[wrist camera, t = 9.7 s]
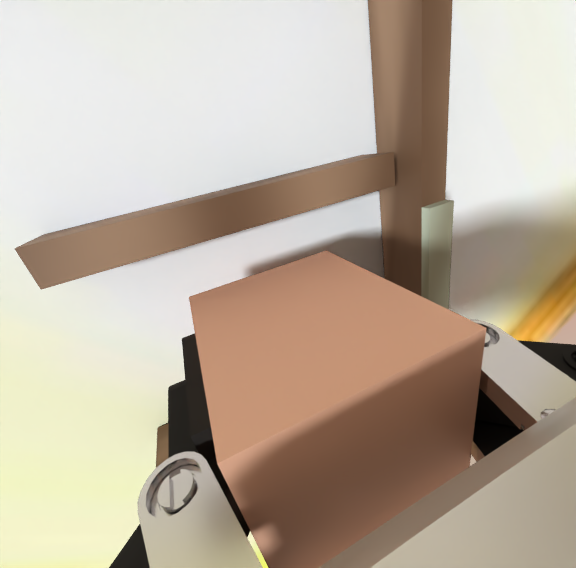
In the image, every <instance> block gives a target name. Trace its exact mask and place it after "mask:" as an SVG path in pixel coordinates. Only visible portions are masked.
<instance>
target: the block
mask: <svg viewBox="0 0 576 568" xmlns="http://www.w3.org/2000/svg"><path fill="white" fill-rule="evenodd" d="M189 300H190V306H191V312H192V318H193V324H194V330H195V336H196V342H197V348H198V353H199V359H200V365H201V371H202V377H203V383H204V389H205V395H206V401H207V406H208V412H209V418H210V424H211V430H212V436H213V442H214V448H215V454H216V460H217V464H218V466H219V468H220V470H221V472H222V474H223V476H224V478H225V480H226V482H227V484H228V486H229V488H230V490H231V492H232V495H233V497H234V499H235V501H236V503H237V505H238V507H239V509H240V511H241V513H242V515H243V517H244V519H245V521H246V523H247V525H248V527H249V529H250V531H251V533H252V535H253V537H254V539H255V541H256V543H257V545H258V547H259V549H260V551H261V553H262V555H263V557H264V559H265V561H266V563H267V565H268V567H269V568H319V567H320V566H322V565H323V564H325V563H326V562H328V561H329V560H331V559H332V558H334V557H335V556H337V555H338V554H340V553H341V552H342V551H344V550H345V549H347V548H348V547H350V546H351V545H353V544H354V543H356V542H357V541H359V540H360V539H362V538H363V537H365V536H366V535H368V534H369V533H371V532H372V531H374V530H375V529H377V528H378V527H380V526H381V525H383V524H384V523H386V522H387V521H389V520H390V519H392V518H393V517H395V516H396V515H398V514H399V513H401V512H402V511H404V510H405V509H407V508H408V507H410V506H411V505H413V504H414V503H416V502H417V501H419V500H420V499H422V498H423V497H425V496H426V495H428V494H429V493H431V492H432V491H434V490H435V489H437V488H438V487H440V486H441V485H443V484H444V483H446V482H447V481H449V480H450V479H452V478H453V477H455V476H456V475H458V474H459V473H461V472H462V471H464V470H465V469H467V468H468V467H469V466H470V458H471V450H472V442H473V434H474V426H475V417H476V409H477V401H478V393H479V385H480V377H481V368H482V360H483V352H484V344H485V336H486V327H483V326H481V325H479V324H477V323H475V322H473V321H471V320H469V319H467V318H465V317H463V316H461V315H459V314H457V313H454V312H452V311H450V310H448V309H446V308H444V307H442V306H440V305H438V304H436V303H434V302H432V301H430V300H428V299H426V298H423V297H421V296H419V295H417V294H415V293H413V292H411V291H409V290H407V289H405V288H403V287H401V286H399V285H397V284H395V283H392V282H390V281H388V280H386V279H384V278H382V277H380V276H378V275H376V274H374V273H372V272H370V271H368V270H366V269H364V268H361V267H359V266H357V265H355V264H353V263H351V262H349V261H347V260H345V259H343V258H341V257H339V256H337V255H335V254H333V253H330V252H328V251H323V252H320V253H317V254H314V255H311V256H308V257H305V258H302V259H299V260H296V261H293V262H290V263H288V264H285V265H282V266H279V267H276V268H273V269H270V270H267V271H264V272H261V273H258V274H255V275H252V276H249V277H246V278H243V279H240V280H237V281H234V282H232V283H229V284H226V285H223V286H220V287H217V288H214V289H211V290H208V291H205V292H202V293H199V294H196V295H193V296H190V297H189Z"/></svg>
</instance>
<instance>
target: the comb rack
mask: <svg viewBox="0 0 576 568" xmlns="http://www.w3.org/2000/svg"><path fill="white" fill-rule="evenodd" d="M368 10H369V27H370V43H371V60H372V76H373V93H374V110H375V126H376V143H377V154H368V155H360V156H356V157H352V158H348V159H344V160H340V161H336V162H332V163H328V164H324V165H320V166H316V167H312V168H308V169H304V170H300V171H296V172H292V173H288V174H284V175H280V176H276V177H272V178H268V179H264V180H260V181H256V182H252V183H248V184H244V185H240V186H236V187H232V188H228V189H224V190H220V191H216V192H212V193H208V194H204V195H200V196H196V197H192V198H188V199H184V200H180V201H176V202H172V203H168V204H164V205H160V206H156V207H152V208H148V209H144V210H140V211H136V212H132V213H128V214H124V215H120V216H116V217H112V218H108V219H104V220H100V221H96V222H92V223H88V224H84V225H80V226H76V227H72V228H68V229H64V230H60V231H56V232H52V233H48V234H44V235H42V236H40V237H38V238H36V239H34V240H31V241H29V242H27V243H25V244H23V245H21V246H19V247H17V248H15V250H16V252H17V253H18V255H19V256H20V258H21V259H22V261H23V262H24V264H25V266H26V267H27V269H28V270H29V272H30V273H31V275H32V276H33V278H34V279H35V281H36V283H37V284H38V286H39V287H40V289H44V288H48V287H51V286H55V285H58V284H62V283H65V282H68V281H72V280H75V279H79V278H82V277H85V276H89V275H92V274H96V273H99V272H102V271H106V270H109V269H113V268H116V267H119V266H123V265H126V264H130V263H133V262H136V261H140V260H143V259H147V258H150V257H154V256H157V255H160V254H164V253H167V252H171V251H174V250H177V249H181V248H184V247H188V246H191V245H194V244H198V243H201V242H205V241H208V240H211V239H215V238H218V237H222V236H225V235H228V234H232V233H235V232H239V231H242V230H246V229H249V228H252V227H256V226H259V225H263V224H266V223H269V222H273V221H276V220H280V219H283V218H286V217H290V216H293V215H297V214H300V213H303V212H307V211H310V210H314V209H317V208H320V207H324V206H327V205H331V204H334V203H338V202H341V201H344V200H348V199H351V198H355V197H358V196H361V195H365V194H368V193H372V192H375V191H378V190H379V192H380V209H381V225H382V242H383V259H384V275H385V279H386V280H388V281H390V282H392V283H395V284H397V285H399V286H401V287H403V288H405V289H407V290H409V291H411V292H413V293H415V294H417V295H419V296H421V297H423V298H426V299H428V300H430V301H432V302H434V303H436V304H438V305H440V306H442V307H444V308H446V309H449V288H450V268H451V247H452V227H453V206H454V201H453V200H445V188H446V160H447V132H448V104H449V77H450V49H451V21H452V0H368ZM167 459H168V423H167V424H165V425H163V426H161V427H158V431H157V455H156V468H157V467H158V466H159V465H160V464H161V463H163V462H164V461H165V460H167Z"/></svg>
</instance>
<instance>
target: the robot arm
mask: <svg viewBox="0 0 576 568" xmlns="http://www.w3.org/2000/svg"><path fill="white" fill-rule="evenodd" d="M471 321H473V322H475V323H477V324H479V325H481V326H483V327H486V336H485V344H484V352H483V360H482V368H481V377H480V385H479V393H478V401H477V409H476V417H475V426H474V434H473V442H472V450H471V455H472V456H473V457H474V459H475V460H476V461H477V462H476V463H475V464H473V465H472V466H470V467H468V468H467V469H465V470H464V471H462V472H461V473H459V474H458V475H456V476H455V477H453V478H452V479H450V480H449V481H447V482H446V483H444V484H443V485H441V486H440V487H438V488H437V489H435V490H434V491H432V492H431V493H429V494H428V495H426V496H425V497H423V498H422V499H420V500H419V501H417V502H416V503H414V504H413V505H411V506H410V507H408V508H407V509H405V510H404V511H402V512H401V513H399V514H398V515H396V516H395V517H393V518H392V519H390V520H389V521H387V522H386V523H384V524H383V525H381V526H380V527H378V528H377V529H375V530H374V531H372V532H371V533H369V534H368V535H366V536H365V537H363V538H362V539H360V540H359V541H357V542H356V543H354V544H353V545H351V546H350V547H348V548H347V549H345V550H344V551H342V552H341V553H340V554H338V555H337V556H335V557H334V558H332V559H331V560H329V561H328V562H326V563H325V564H323V565H322V566H320V567H319V568H576V345H571V344H558V343H544V342H531V341H517V340H516V339H514V338H513V337H511V336H510V335H509V334H507V333H506V332H504V331H503V330H501V329H500V328H498V327H496V326H495V325H493V324H490V323H487V322H484V321H479V320H471ZM182 345H183V357H184V369H185V380H184V381H181V382H179V383H176V384H174V385H172V386H170V387H169V390H168V459H167V460H165V461H164V462H163V463H161V464H160V465H159V466H158V467H157V468H156V469H155V470H154V471H153V472H152V474H151V475H150V476H149V477H148V479H147V480H146V482H145V484H144V486H143V488H142V490H141V492H140V496H139V499H138V516H139V520H140V524H139V526H138V527H137V529H136V530H135V532H134V533H133V534H132V536H131V537H130V539H129V540H128V542H127V543H126V544H125V546H124V547H123V549H122V550H121V552H120V553H119V554H118V556H117V557H116V559H115V560H114V562H113V563H112V564H111V566H110V567H109V568H263V567H262V566H261V564H260V562H259V560H258V558H257V556H256V554H255V552H254V550H253V548H252V546H251V545H250V543H249V541H248V539H247V537H248V535H249V532H250V529H249V527H248V525H247V523H246V521H245V519H244V517H243V515H242V513H241V511H240V509H239V507H238V505H237V503H236V501H235V499H234V497H233V495H232V492H231V490H230V488H229V486H228V484H227V482H226V480H225V478H224V476H223V474H222V472H221V470H220V468H219V466H218V464H217V460H216V454H215V448H214V442H213V436H212V430H211V424H210V418H209V412H208V406H207V401H206V395H205V389H204V383H203V377H202V371H201V365H200V359H199V353H198V348H197V342H196V336H195V334H192V335H189V336H187V337H184V338H182Z"/></svg>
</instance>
